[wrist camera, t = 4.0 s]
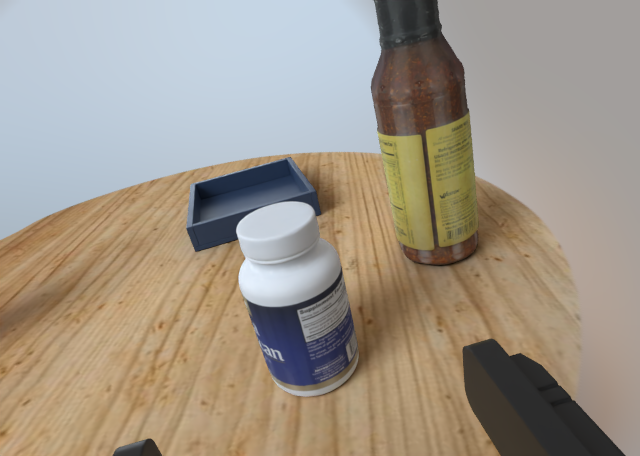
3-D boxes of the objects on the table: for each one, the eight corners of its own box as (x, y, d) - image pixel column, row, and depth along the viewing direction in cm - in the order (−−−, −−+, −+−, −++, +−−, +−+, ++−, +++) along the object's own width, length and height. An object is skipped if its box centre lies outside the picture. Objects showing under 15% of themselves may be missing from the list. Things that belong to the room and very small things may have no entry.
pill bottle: (254, 366, 26) (203, 227, 21) (322, 320, 28) (288, 188, 24) (306, 418, 21) (255, 259, 17) (379, 359, 24) (351, 207, 20)
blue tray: (295, 175, 56) (290, 156, 55) (321, 214, 43) (316, 190, 42) (197, 203, 54) (190, 184, 53) (195, 251, 41) (186, 228, 40)
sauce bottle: (476, 226, 35) (465, -52, 26) (483, 268, 30) (472, -62, 21) (397, 231, 37) (362, -26, 28) (390, 271, 32) (345, -29, 23)
